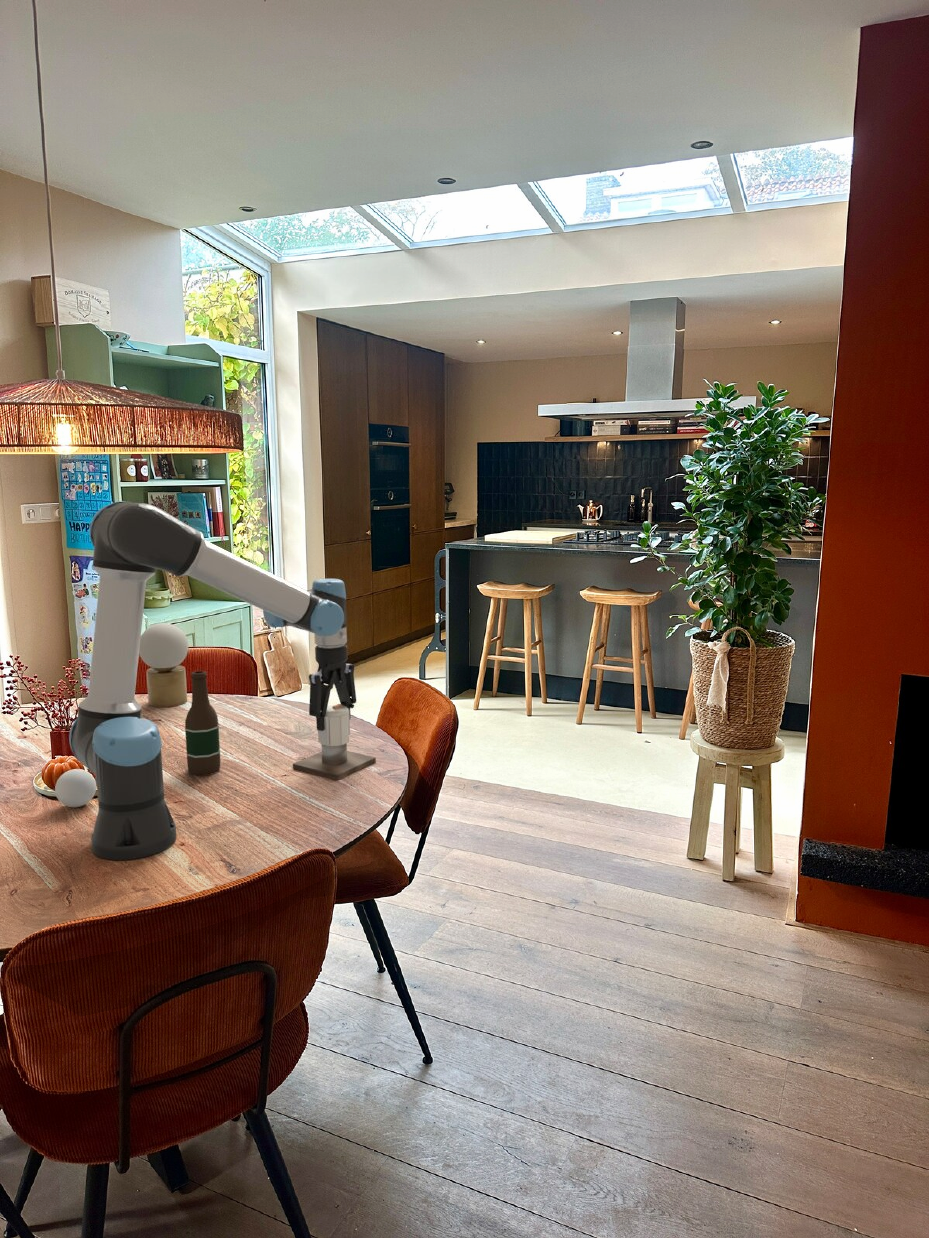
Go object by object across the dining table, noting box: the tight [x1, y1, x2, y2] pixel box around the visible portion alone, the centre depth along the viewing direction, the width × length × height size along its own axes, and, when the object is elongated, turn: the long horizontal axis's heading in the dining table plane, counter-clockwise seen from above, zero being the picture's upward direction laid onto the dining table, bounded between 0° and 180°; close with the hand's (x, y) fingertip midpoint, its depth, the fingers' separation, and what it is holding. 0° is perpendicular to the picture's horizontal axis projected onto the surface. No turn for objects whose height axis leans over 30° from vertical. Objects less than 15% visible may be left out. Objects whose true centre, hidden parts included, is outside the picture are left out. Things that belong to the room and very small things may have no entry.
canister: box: [319, 703, 350, 746], centre depth 201 cm, size 7×7×9 cm
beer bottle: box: [184, 670, 221, 776], centre depth 198 cm, size 8×8×24 cm
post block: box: [292, 743, 377, 781], centre depth 202 cm, size 14×14×11 cm
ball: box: [54, 768, 97, 808], centre depth 178 cm, size 8×8×8 cm
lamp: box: [139, 622, 189, 708], centre depth 254 cm, size 15×14×25 cm
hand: (334, 738), depth 202 cm, fingers closed on canister, 7 cm apart
